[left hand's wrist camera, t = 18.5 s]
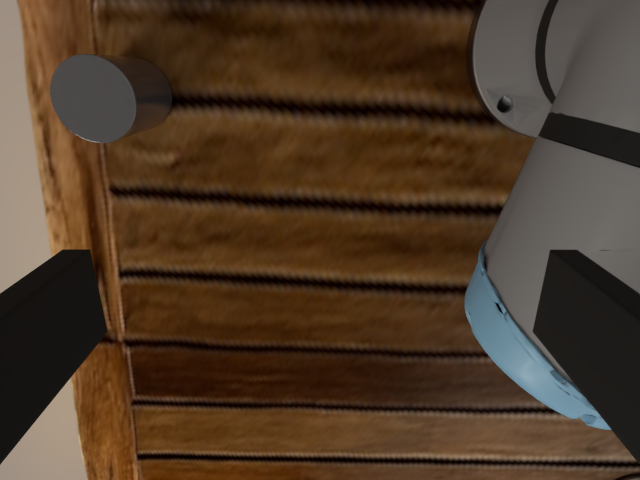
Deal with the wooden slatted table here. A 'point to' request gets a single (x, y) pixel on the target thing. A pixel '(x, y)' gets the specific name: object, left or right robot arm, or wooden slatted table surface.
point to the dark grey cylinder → (109, 96)
